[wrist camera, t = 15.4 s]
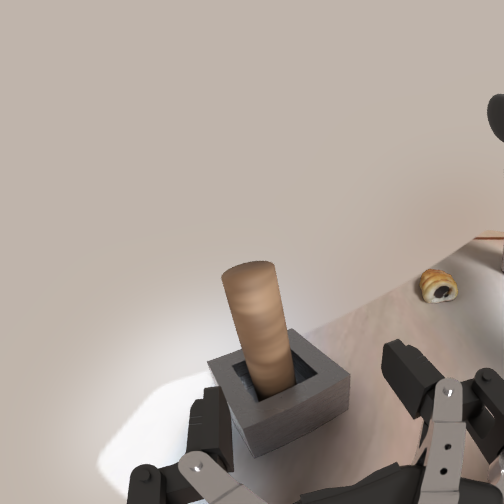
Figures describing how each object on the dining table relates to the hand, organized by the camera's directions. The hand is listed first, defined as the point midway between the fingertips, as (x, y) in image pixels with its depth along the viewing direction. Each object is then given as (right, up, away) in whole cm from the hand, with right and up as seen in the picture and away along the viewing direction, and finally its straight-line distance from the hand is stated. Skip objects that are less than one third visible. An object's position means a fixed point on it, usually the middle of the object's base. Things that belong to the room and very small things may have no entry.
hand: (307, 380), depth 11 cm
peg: (0, -9, +13) cm, 15 cm away
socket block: (0, -10, +13) cm, 16 cm away
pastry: (+28, -1, +25) cm, 38 cm away
